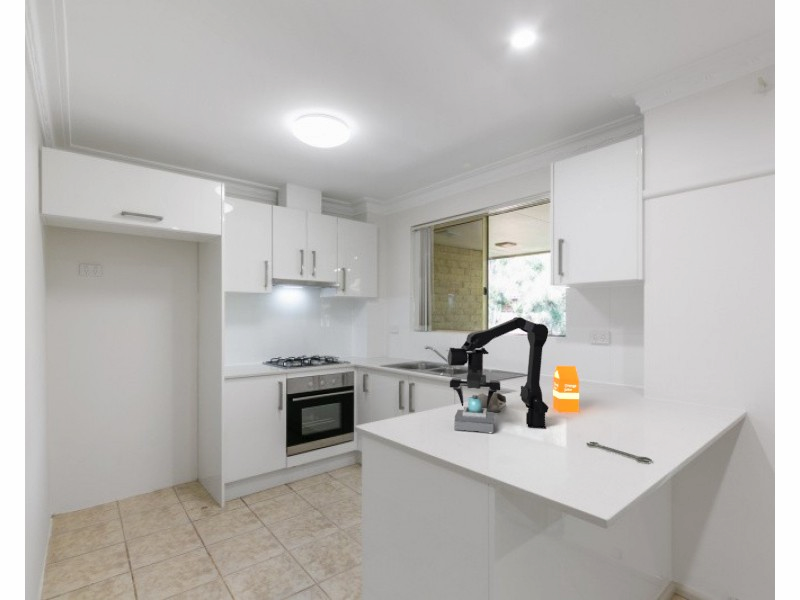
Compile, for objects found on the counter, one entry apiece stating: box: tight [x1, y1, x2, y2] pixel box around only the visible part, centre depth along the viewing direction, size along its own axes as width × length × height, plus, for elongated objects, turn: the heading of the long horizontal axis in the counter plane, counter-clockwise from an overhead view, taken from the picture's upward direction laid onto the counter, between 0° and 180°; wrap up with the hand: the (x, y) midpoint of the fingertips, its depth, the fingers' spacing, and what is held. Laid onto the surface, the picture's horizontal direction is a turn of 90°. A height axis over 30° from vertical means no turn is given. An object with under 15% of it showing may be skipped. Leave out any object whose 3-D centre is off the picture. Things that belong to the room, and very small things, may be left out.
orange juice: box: [552, 365, 580, 414], centre depth 186 cm, size 8×9×20 cm
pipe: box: [477, 392, 507, 413], centre depth 184 cm, size 16×9×15 cm
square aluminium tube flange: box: [453, 406, 495, 434], centre depth 157 cm, size 14×13×6 cm
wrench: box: [586, 441, 653, 465], centre depth 130 cm, size 5×2×20 cm
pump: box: [467, 394, 482, 413], centre depth 157 cm, size 5×5×7 cm
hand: (474, 406), depth 157 cm, fingers open, 9 cm apart
